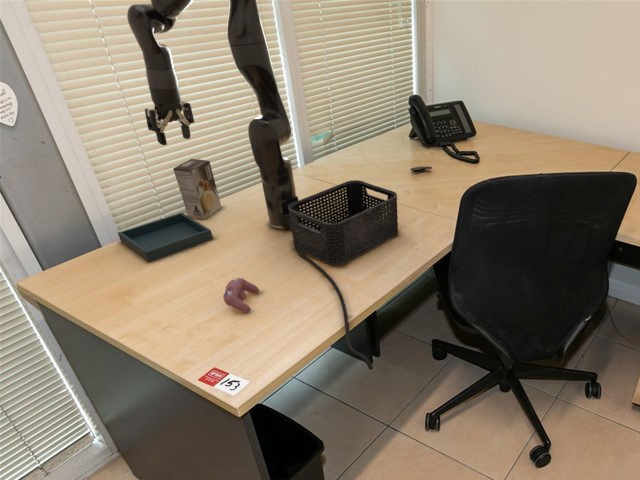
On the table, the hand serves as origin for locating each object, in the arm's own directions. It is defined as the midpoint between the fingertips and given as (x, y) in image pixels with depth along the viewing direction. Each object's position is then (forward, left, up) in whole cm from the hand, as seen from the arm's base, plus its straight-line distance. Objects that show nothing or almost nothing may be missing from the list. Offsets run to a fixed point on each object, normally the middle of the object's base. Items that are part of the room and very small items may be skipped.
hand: (175, 141), depth 157 cm
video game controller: (-60, +20, -22) cm, 66 cm away
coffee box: (-6, 0, -22) cm, 23 cm away
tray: (-16, +17, -22) cm, 32 cm away
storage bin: (-54, -19, -22) cm, 61 cm away
